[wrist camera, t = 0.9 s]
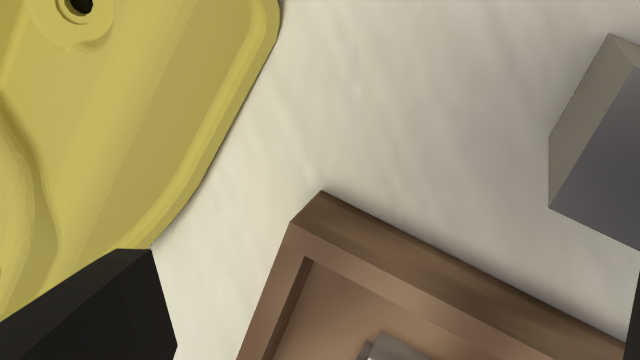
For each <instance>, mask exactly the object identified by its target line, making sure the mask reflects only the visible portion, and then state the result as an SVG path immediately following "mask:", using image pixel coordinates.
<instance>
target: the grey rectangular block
mask: <svg viewBox="0 0 640 360" xmlns="http://www.w3.org/2000/svg"><path fill="white" fill-rule="evenodd" d="M548 208H550V209H552V210H554V211H556V212H558V213H560V214H562V215H564V216H567V217H569V218H571V219H573V220H575V221H577V222H579V223H581V224H583V225H585V226H588V227H590V228H592V229H594V230H596V231H598V232H600V233H602V234H604V235H607V236H609V237H611V238H613V239H615V240H617V241H619V242H621V243H623V244H625V245H628V246H630V247H632V248H634V249H636V250H638V251H640V46H639V45H636V44H634V43H631V42H629V41H627V40H624V39H622V38H619V37H617V36H615V35H612V34H610V33H608V35H607V37H606V39H605V40H604V42H603V44H602V46H601V47H600V49H599V51H598V53H597V54H596V56H595V58H594V60H593V61H592V63H591V65H590V67H589V68H588V70H587V72H586V74H585V75H584V77H583V79H582V81H581V82H580V84H579V86H578V88H577V89H576V91H575V93H574V95H573V96H572V98H571V100H570V102H569V103H568V105H567V107H566V109H565V110H564V112H563V114H562V116H561V117H560V119H559V121H558V123H557V124H556V126H555V128H554V130H553V131H552V133H551V135H550V137H549V198H548Z"/></svg>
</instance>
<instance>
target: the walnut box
mask: <svg viewBox="0 0 640 360" xmlns="http://www.w3.org/2000/svg"><path fill="white" fill-rule="evenodd" d="M625 345H626V344H625V343H623V342H621V341H619V340H617V339H615V338H613V337H611V336H609V335H607V334H605V333H603V332H602V331H600V330H598V329H596V328H594V327H592V326H590V325H588V324H586V323H584V322H582V321H580V320H578V319H576V318H574V317H572V316H570V315H568V314H566V313H564V312H562V311H560V310H558V309H556V308H554V307H552V306H550V305H548V304H546V303H544V302H542V301H540V300H538V299H536V298H534V297H532V296H530V295H528V294H526V293H524V292H522V291H520V290H518V289H516V288H514V287H512V286H510V285H508V284H506V283H504V282H502V281H500V280H498V279H496V278H494V277H492V276H490V275H488V274H486V273H484V272H482V271H480V270H478V269H476V268H474V267H472V266H470V265H468V264H467V263H465V262H463V261H461V260H459V259H457V258H455V257H453V256H451V255H449V254H447V253H445V252H443V251H441V250H439V249H437V248H435V247H433V246H431V245H429V244H427V243H425V242H423V241H421V240H419V239H417V238H415V237H413V236H411V235H409V234H407V233H405V232H403V231H401V230H399V229H397V228H395V227H393V226H391V225H389V224H387V223H385V222H383V221H381V220H379V219H377V218H375V217H373V216H371V215H369V214H367V213H365V212H363V211H361V210H359V209H357V208H355V207H353V206H351V205H349V204H347V203H345V202H343V201H341V200H339V199H337V198H335V197H333V196H331V195H330V194H328V193H326V192H324V191H322V190H321V191H320V192H319V193H318V194H317V195H316V196H315V197H314V198H313V199H312V200H311V201H310V202H309V203H308V204H307V205H306V206H305V207H304V208H303V209H302V210H301V211H300V212H299V213H298V214H297V215H296V216H295V217H294V218H293V219H292V220H291V221H290V222H289V225H288V228H287V230H286V233H285V235H284V238H283V240H282V243H281V245H280V248H279V251H278V253H277V256H276V258H275V261H274V263H273V266H272V269H271V271H270V274H269V276H268V279H267V281H266V284H265V287H264V289H263V292H262V294H261V297H260V299H259V302H258V305H257V307H256V310H255V312H254V315H253V317H252V320H251V323H250V325H249V328H248V330H247V333H246V335H245V338H244V341H243V343H242V346H241V348H240V351H239V353H238V356H237V359H236V360H623V355H624V350H625Z"/></svg>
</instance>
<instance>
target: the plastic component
mask: <svg viewBox="0 0 640 360" xmlns="http://www.w3.org/2000/svg"><path fill="white" fill-rule="evenodd" d="M92 1H93V7H92V10H91V12H90V13H87V14H83V13H81V12H78V11H76V10H75V9H74V8H73V6H72V5H71V3H70V0H0V322H1V321H2V320H4V319H6V318H7V317H9V316H10V315H12V314H13V313H15V312H16V311H18V310H19V309H21V308H22V307H24V306H25V305H27V304H29V303H30V302H32V301H33V300H35V299H36V298H38V297H39V296H41V295H42V294H44V293H45V292H47V291H48V290H50V289H51V288H53V287H54V286H56V285H58V284H59V283H61V282H62V281H64V280H65V279H67V278H68V277H70V276H71V275H73V274H74V273H76V272H77V271H79V270H81V269H82V268H84V267H85V266H87V265H89V264H90V263H92V262H93V261H95V260H97V259H98V258H100V257H102V256H103V255H105V254H107V253H109V252H111V251H112V250H114V249H116V248H122V249H146V248H147V247H149V246H150V245H151V243H152V242H153V241H154V240H155V239H156V238H157V237H158V236H159V235H160V234H161V233H162V232H163V231H164V230H165V229H166V228H167V226H168V225H169V224H170V223H171V222H172V221H173V219H174V218H175V217H176V216H177V214H178V213H179V212H180V211H181V209H182V208H183V207H184V205H185V204H186V203H187V201H188V200H189V198H190V197H191V196H192V194H193V193H194V191H195V190H196V188H197V187H198V186H199V184H200V182H201V180H202V178H203V176H204V174H205V173H206V171H207V169H208V167H209V165H210V163H211V161H212V159H213V158H214V156H215V154H216V152H217V150H218V148H219V146H220V145H221V143H222V141H223V139H224V137H225V135H226V133H227V131H228V130H229V128H230V126H231V124H232V122H233V120H234V118H235V116H236V115H237V113H238V111H239V109H240V107H241V105H242V103H243V102H244V100H245V98H246V96H247V94H248V92H249V90H250V88H251V87H252V85H253V83H254V81H255V79H256V77H257V75H258V73H259V72H260V70H261V68H262V66H263V64H264V62H265V60H266V59H267V57H268V55H269V53H270V51H271V49H272V47H273V45H274V44H275V42H276V39H277V34H278V30H279V25H280V11H279V5H278V1H277V0H92Z"/></svg>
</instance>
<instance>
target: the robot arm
mask: <svg viewBox="0 0 640 360" xmlns="http://www.w3.org/2000/svg"><path fill="white" fill-rule="evenodd" d="M177 346H178V345H177V341H176V338H175V334H174V330H173V327H172V323H171V320H170V316H169V312H168V309H167V305H166V301H165V298H164V294H163V291H162V287H161V283H160V280H159V276H158V273H157V269H156V265H155V262H154V258H153V254H152V251H151V249H122V248H116V249H114V250H112V251H111V252H109V253H107V254H105V255H103V256H102V257H100V258H98V259H97V260H95V261H93V262H92V263H90V264H89V265H87V266H85V267H84V268H82V269H81V270H79V271H77V272H76V273H74V274H73V275H71V276H70V277H68V278H67V279H65V280H64V281H62V282H61V283H59V284H58V285H56V286H54V287H53V288H51V289H50V290H48V291H47V292H45V293H44V294H42V295H41V296H39V297H38V298H36V299H35V300H33V301H32V302H30V303H29V304H27V305H25V306H24V307H22V308H21V309H19V310H18V311H16V312H15V313H13V314H12V315H10V316H9V317H7V318H6V319H4V320H2V321H1V322H0V360H173V358H174V355H175V352H176V349H177ZM623 360H640V272H639V277H638V282H637V288H636V293H635V298H634V303H633V308H632V314H631V319H630V324H629V329H628V334H627V340H626V345H625V350H624V355H623Z"/></svg>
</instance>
